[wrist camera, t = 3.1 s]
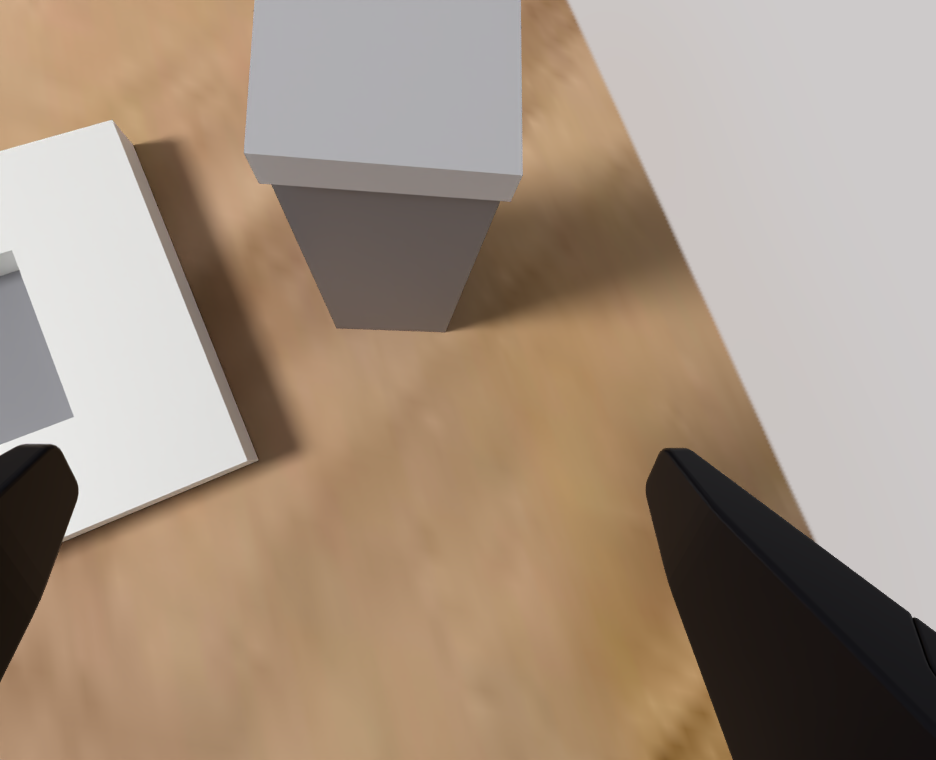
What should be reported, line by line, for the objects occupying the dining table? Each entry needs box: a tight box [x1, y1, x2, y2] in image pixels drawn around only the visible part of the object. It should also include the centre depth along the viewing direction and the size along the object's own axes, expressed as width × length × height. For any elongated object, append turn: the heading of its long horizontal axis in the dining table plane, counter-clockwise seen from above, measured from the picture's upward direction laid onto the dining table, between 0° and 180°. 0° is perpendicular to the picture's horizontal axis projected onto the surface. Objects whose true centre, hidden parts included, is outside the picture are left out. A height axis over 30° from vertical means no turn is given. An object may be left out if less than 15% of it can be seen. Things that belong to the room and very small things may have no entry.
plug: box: [244, 0, 523, 332], centre depth 16 cm, size 5×5×13 cm
